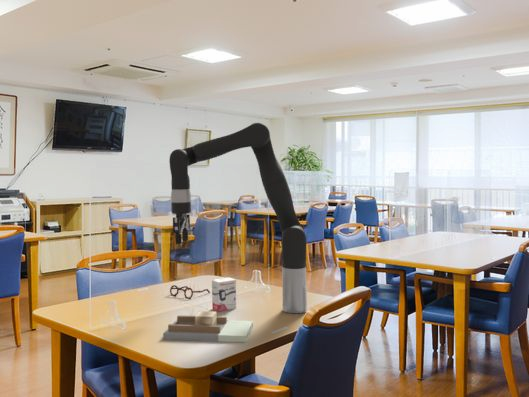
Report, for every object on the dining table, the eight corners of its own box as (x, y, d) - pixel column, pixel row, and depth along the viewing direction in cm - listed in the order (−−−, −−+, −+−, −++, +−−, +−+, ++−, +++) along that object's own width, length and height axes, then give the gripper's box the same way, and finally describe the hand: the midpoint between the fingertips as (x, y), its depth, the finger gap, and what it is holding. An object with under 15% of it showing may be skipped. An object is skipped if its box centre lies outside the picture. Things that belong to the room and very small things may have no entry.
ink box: (217, 311, 201) (217, 282, 200) (211, 308, 205) (211, 279, 204) (236, 308, 205) (236, 279, 204) (230, 305, 209) (230, 277, 209)
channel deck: (253, 326, 181) (253, 315, 181) (245, 342, 165) (245, 329, 165) (177, 324, 185) (177, 313, 185) (163, 339, 169) (162, 327, 169)
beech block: (216, 324, 178) (216, 311, 177) (212, 329, 172) (212, 316, 171) (199, 324, 178) (199, 311, 178) (195, 329, 173) (195, 316, 172)
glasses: (169, 296, 228) (169, 285, 227) (189, 290, 238) (189, 279, 238) (191, 300, 220) (191, 288, 220) (211, 293, 231) (211, 282, 231)
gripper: (184, 202, 192) (185, 245, 193) (195, 199, 206) (196, 239, 207) (165, 202, 193) (166, 245, 194) (177, 199, 207) (178, 239, 208)
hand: (182, 242), depth 201 cm, fingers open, 8 cm apart
